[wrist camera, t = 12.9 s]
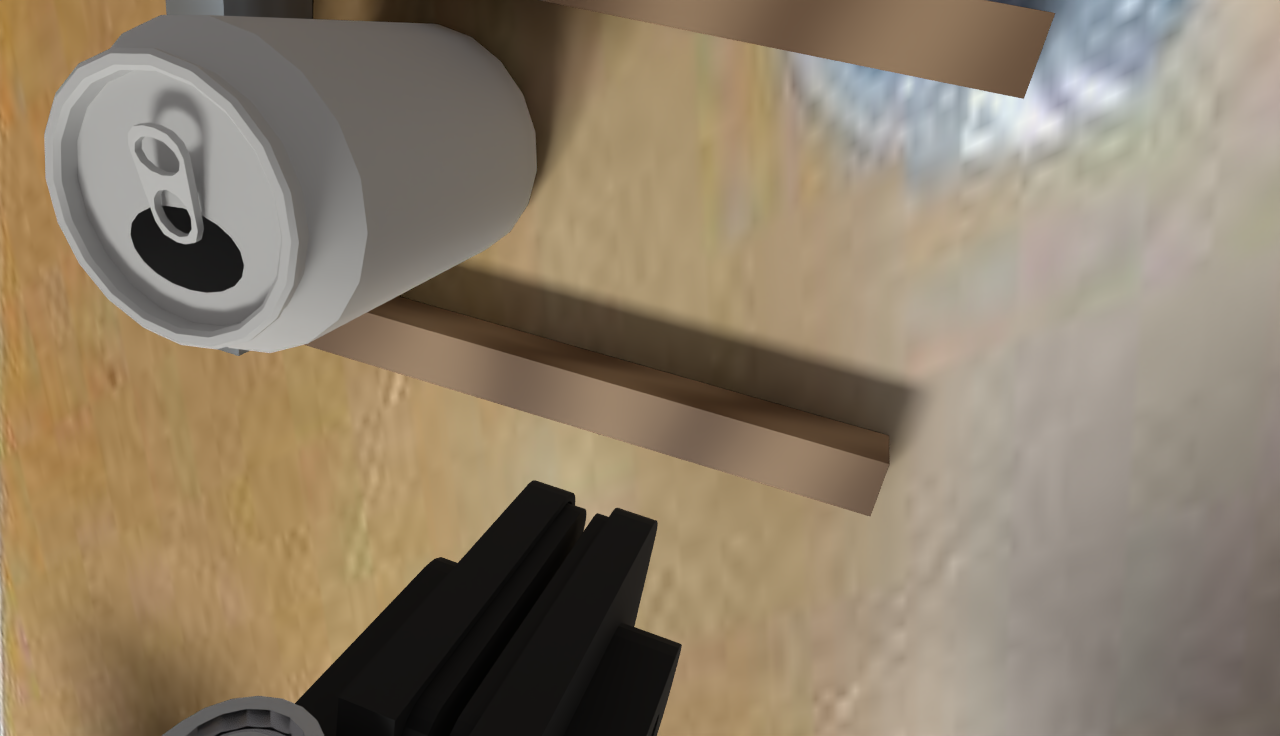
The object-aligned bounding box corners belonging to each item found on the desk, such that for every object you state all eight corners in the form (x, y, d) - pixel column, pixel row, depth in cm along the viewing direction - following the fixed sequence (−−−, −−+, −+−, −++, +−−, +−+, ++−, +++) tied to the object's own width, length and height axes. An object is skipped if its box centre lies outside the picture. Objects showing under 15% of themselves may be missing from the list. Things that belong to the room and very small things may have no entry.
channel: (1040, 15, 21) (1073, 10, 17) (871, 485, 27) (869, 552, 24) (257, -130, 25) (154, -158, 22) (268, 306, 31) (190, 341, 28)
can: (347, 226, 29) (37, 333, 18) (348, 4, 26) (-24, -21, 15) (535, 273, 28) (319, 419, 17) (560, 45, 25) (314, 48, 14)
